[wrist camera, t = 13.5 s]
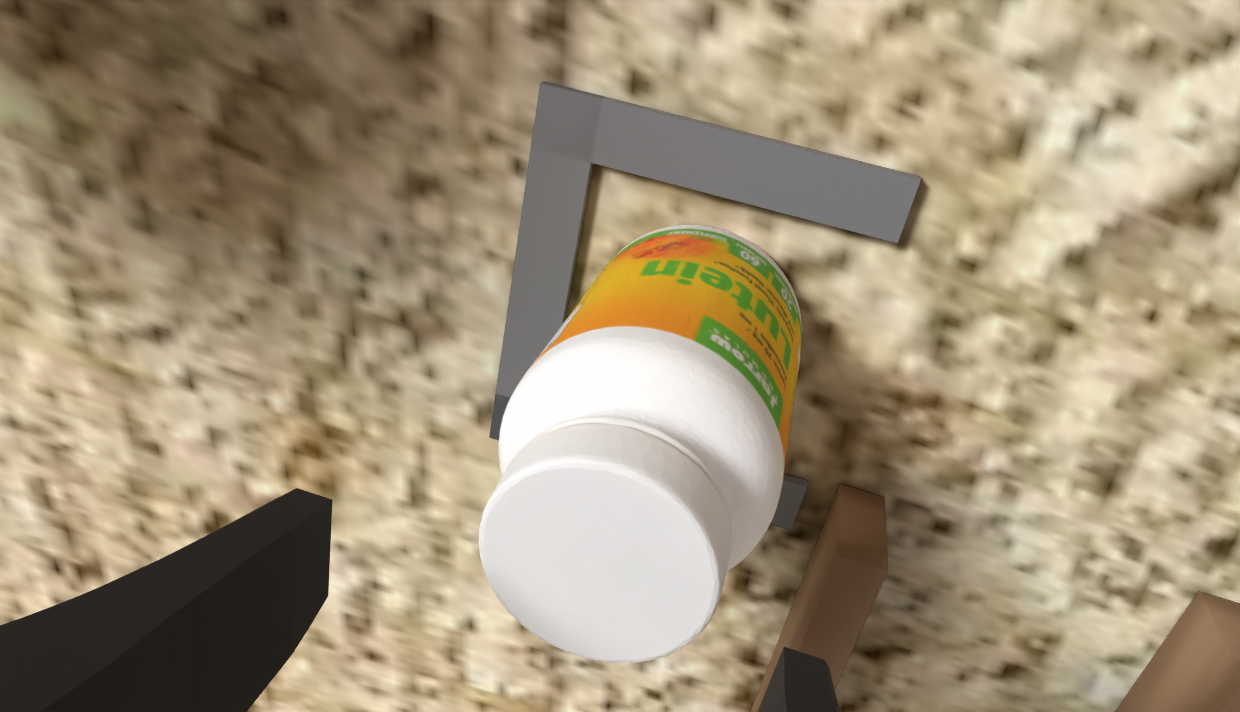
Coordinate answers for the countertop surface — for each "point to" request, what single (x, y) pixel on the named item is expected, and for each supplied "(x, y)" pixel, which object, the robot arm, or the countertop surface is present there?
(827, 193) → the frame
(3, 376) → the countertop surface
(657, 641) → the supplement bottle
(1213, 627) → the frame
